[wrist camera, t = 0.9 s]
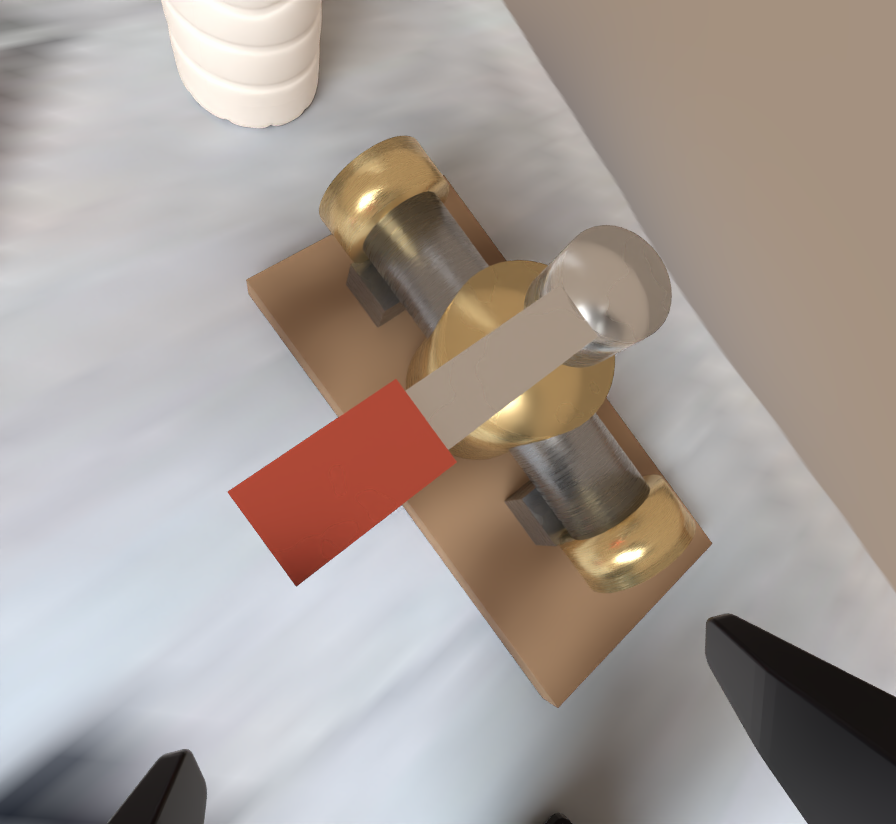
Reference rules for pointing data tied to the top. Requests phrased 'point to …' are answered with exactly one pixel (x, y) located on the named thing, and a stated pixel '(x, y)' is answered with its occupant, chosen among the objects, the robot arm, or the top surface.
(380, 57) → the top surface
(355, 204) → the valve body
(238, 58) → the water bottle
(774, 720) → the robot arm
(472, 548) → the valve board
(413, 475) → the valve lever
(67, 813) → the top surface
